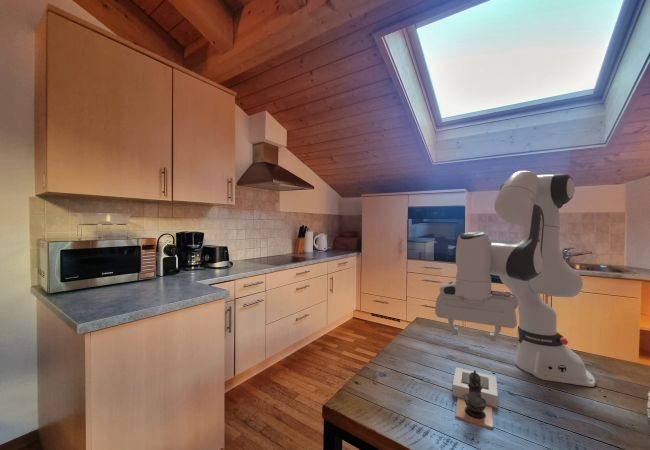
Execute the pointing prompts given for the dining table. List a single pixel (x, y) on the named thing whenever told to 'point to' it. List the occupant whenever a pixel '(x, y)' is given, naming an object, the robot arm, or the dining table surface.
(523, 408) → the dining table surface
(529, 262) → the robot arm
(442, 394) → the dining table surface
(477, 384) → the dark turned stone ornament
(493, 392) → the socket block
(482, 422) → the terracotta tile
